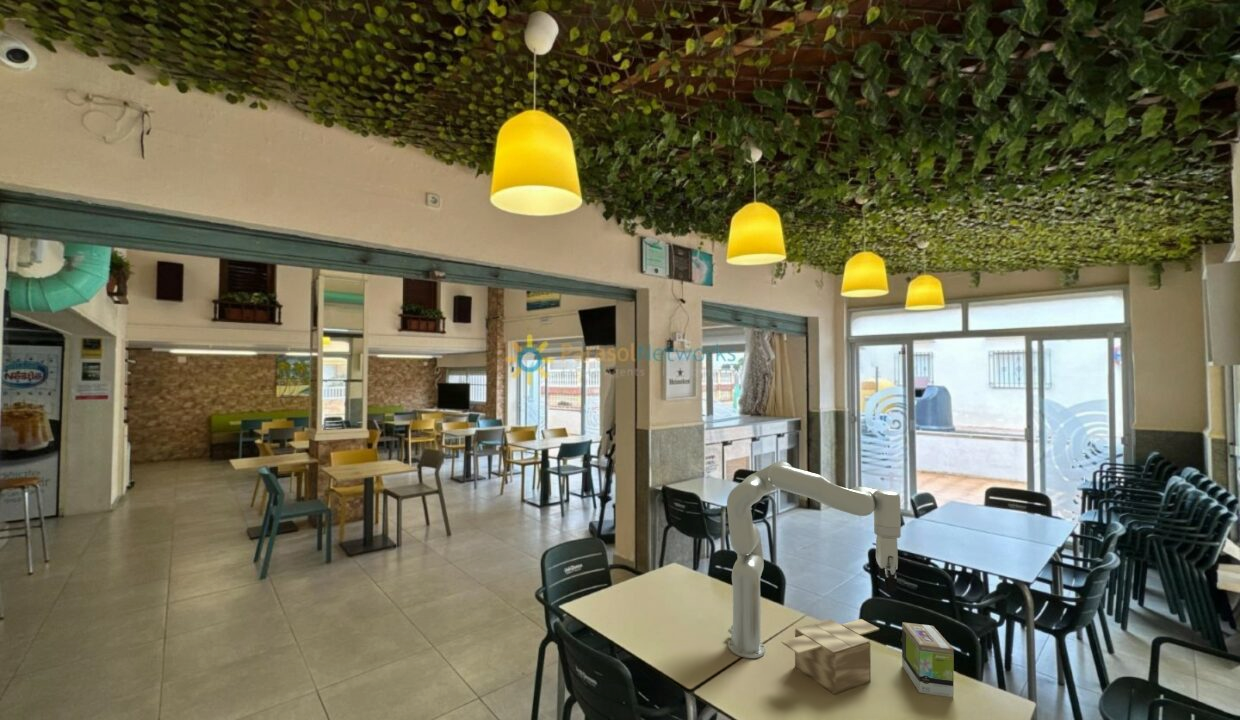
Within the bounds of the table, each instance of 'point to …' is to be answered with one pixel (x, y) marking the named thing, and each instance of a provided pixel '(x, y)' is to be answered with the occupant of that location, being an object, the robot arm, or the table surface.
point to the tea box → (928, 659)
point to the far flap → (848, 631)
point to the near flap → (815, 640)
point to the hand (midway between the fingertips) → (887, 584)
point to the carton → (836, 667)
